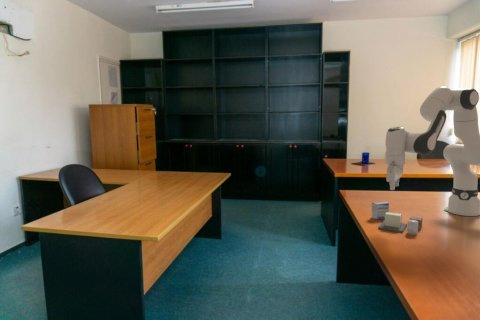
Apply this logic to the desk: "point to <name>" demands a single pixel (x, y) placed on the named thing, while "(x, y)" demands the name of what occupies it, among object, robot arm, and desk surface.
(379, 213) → the medicine box
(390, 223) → the sage brick
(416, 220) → the walnut cube
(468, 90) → the robot arm
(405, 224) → the charcoal pad
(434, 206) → the desk surface
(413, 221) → the grey plastic egg
